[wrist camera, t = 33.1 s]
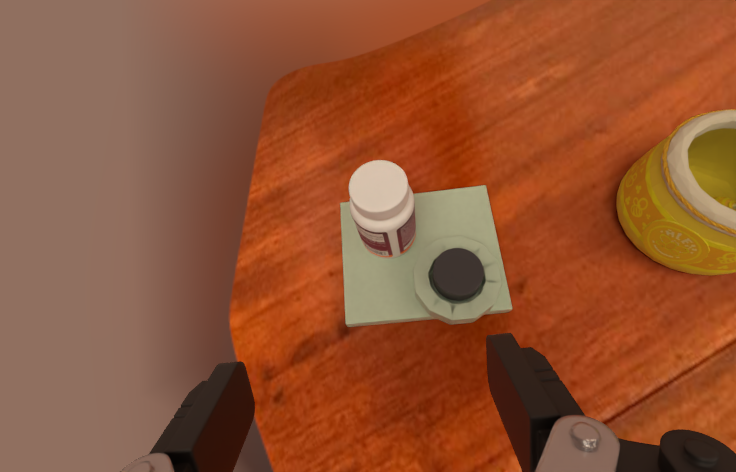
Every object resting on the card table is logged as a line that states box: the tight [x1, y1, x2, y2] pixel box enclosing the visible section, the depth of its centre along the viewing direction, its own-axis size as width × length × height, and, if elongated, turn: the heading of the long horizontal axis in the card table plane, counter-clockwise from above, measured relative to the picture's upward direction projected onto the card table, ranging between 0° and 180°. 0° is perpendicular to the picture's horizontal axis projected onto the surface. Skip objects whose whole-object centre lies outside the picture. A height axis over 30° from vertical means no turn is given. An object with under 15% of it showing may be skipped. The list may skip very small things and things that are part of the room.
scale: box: [340, 185, 513, 327], centre depth 32 cm, size 13×12×3 cm
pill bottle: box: [349, 160, 416, 259], centre depth 30 cm, size 5×5×8 cm
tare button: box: [433, 248, 484, 301], centre depth 29 cm, size 4×4×2 cm
